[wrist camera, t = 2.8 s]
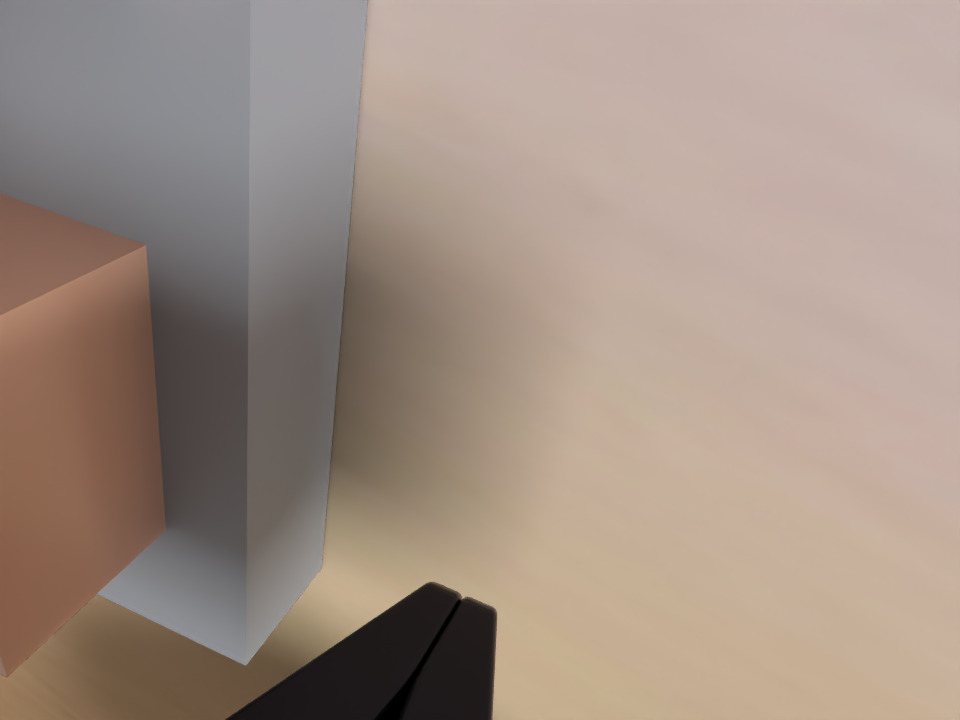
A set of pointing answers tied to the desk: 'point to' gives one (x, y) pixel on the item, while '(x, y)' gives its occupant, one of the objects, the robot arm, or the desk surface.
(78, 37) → the bench board
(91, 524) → the tile
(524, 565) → the desk surface
